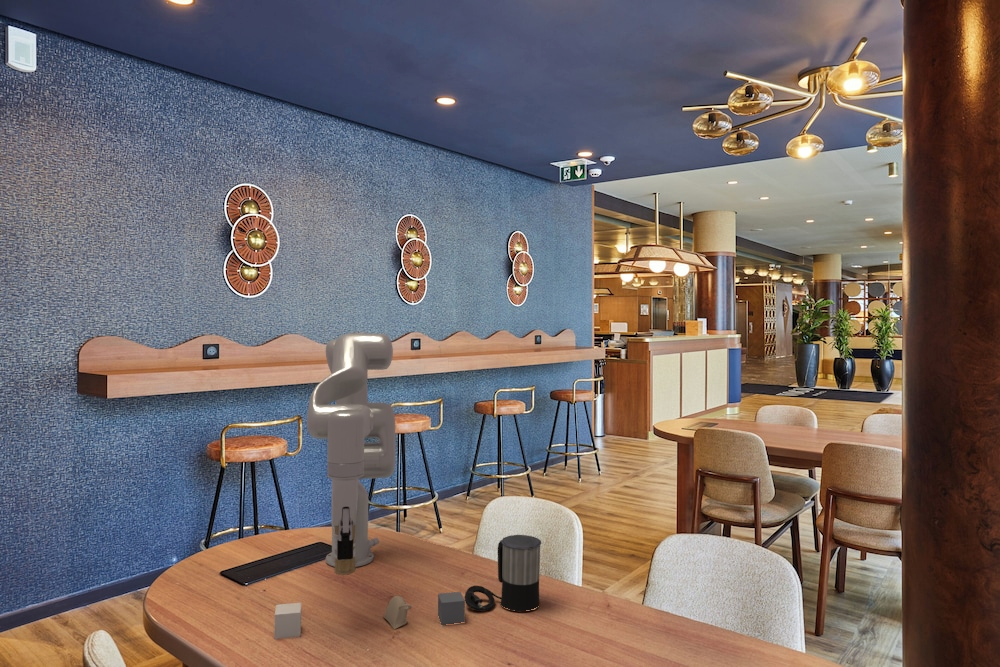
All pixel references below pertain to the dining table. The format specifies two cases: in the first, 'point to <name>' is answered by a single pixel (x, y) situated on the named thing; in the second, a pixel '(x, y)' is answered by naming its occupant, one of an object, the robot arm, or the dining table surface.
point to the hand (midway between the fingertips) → (344, 553)
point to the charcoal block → (451, 608)
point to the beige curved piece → (397, 611)
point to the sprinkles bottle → (349, 564)
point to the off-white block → (287, 620)
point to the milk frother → (513, 575)
